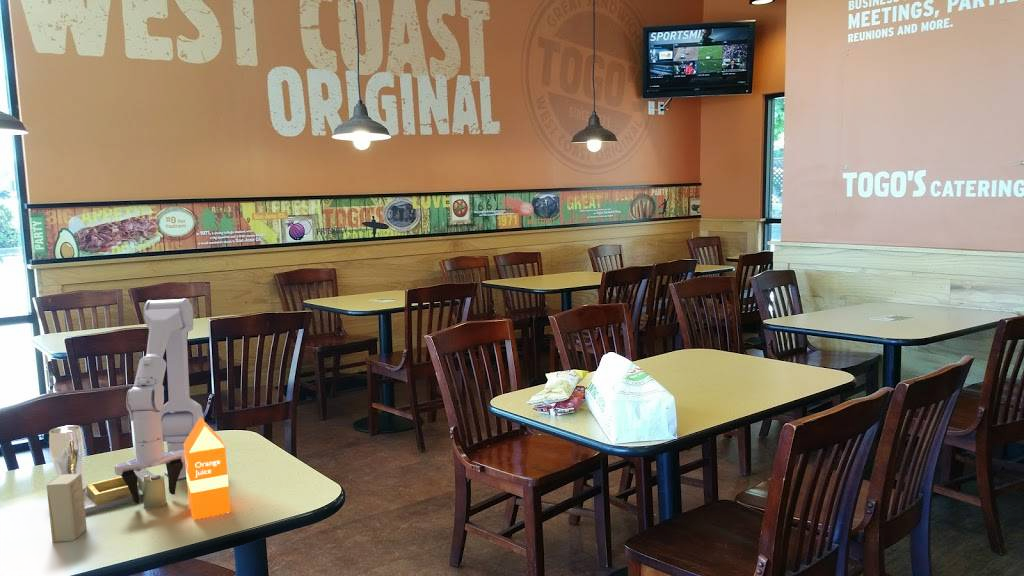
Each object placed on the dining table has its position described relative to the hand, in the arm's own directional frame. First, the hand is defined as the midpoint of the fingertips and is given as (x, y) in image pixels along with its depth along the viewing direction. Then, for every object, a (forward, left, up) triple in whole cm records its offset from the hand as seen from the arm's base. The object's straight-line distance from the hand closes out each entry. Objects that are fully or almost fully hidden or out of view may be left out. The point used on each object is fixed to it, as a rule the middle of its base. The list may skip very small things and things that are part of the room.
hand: (154, 497), depth 179 cm
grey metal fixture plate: (+6, -11, -2) cm, 13 cm away
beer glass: (+12, -25, -2) cm, 28 cm away
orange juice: (-8, +12, -2) cm, 15 cm away
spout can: (0, 0, -2) cm, 2 cm away
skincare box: (+18, +5, -2) cm, 19 cm away
